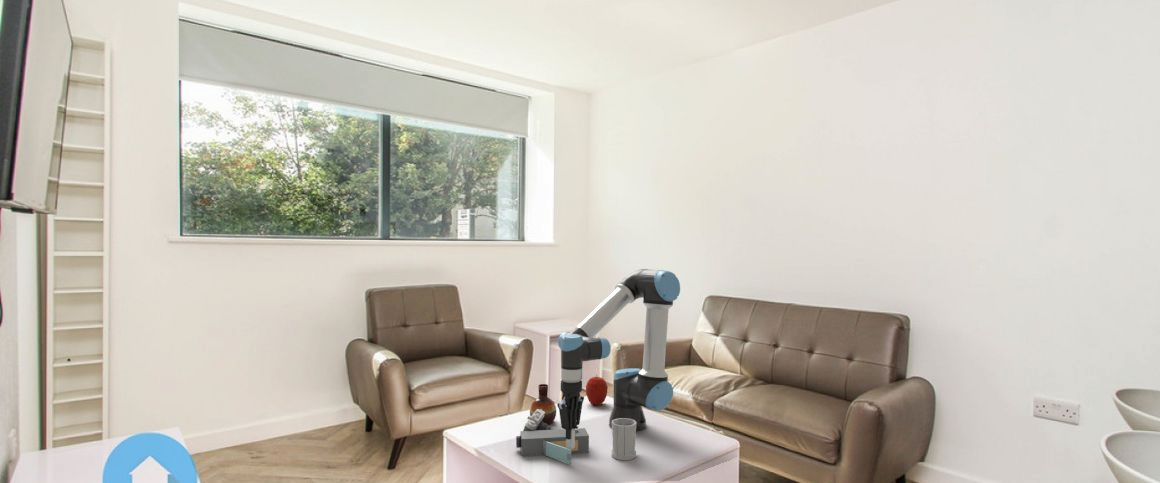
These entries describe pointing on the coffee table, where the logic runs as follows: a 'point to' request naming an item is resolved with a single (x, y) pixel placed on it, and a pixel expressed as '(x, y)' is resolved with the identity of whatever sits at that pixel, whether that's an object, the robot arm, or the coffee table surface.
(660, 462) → the coffee table surface
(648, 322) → the robot arm
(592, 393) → the apple
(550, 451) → the side door
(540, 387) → the vase
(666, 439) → the coffee table surface
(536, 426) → the camera
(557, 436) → the long gray box
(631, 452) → the cup
